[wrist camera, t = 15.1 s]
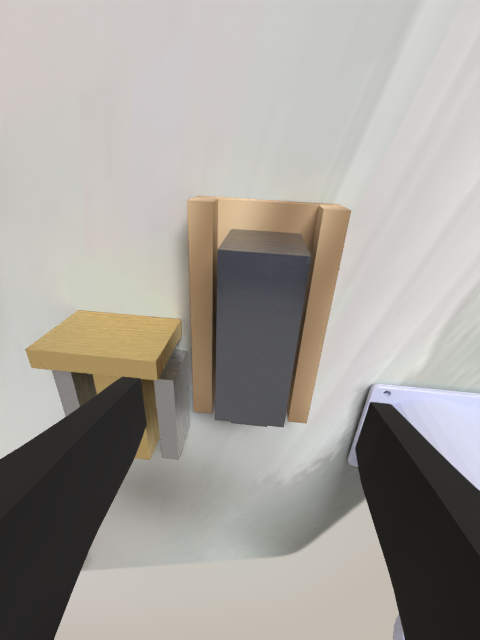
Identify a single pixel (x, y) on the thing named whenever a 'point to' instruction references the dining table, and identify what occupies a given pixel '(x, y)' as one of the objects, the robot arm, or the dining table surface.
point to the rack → (326, 250)
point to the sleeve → (167, 391)
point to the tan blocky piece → (112, 355)
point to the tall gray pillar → (258, 323)
